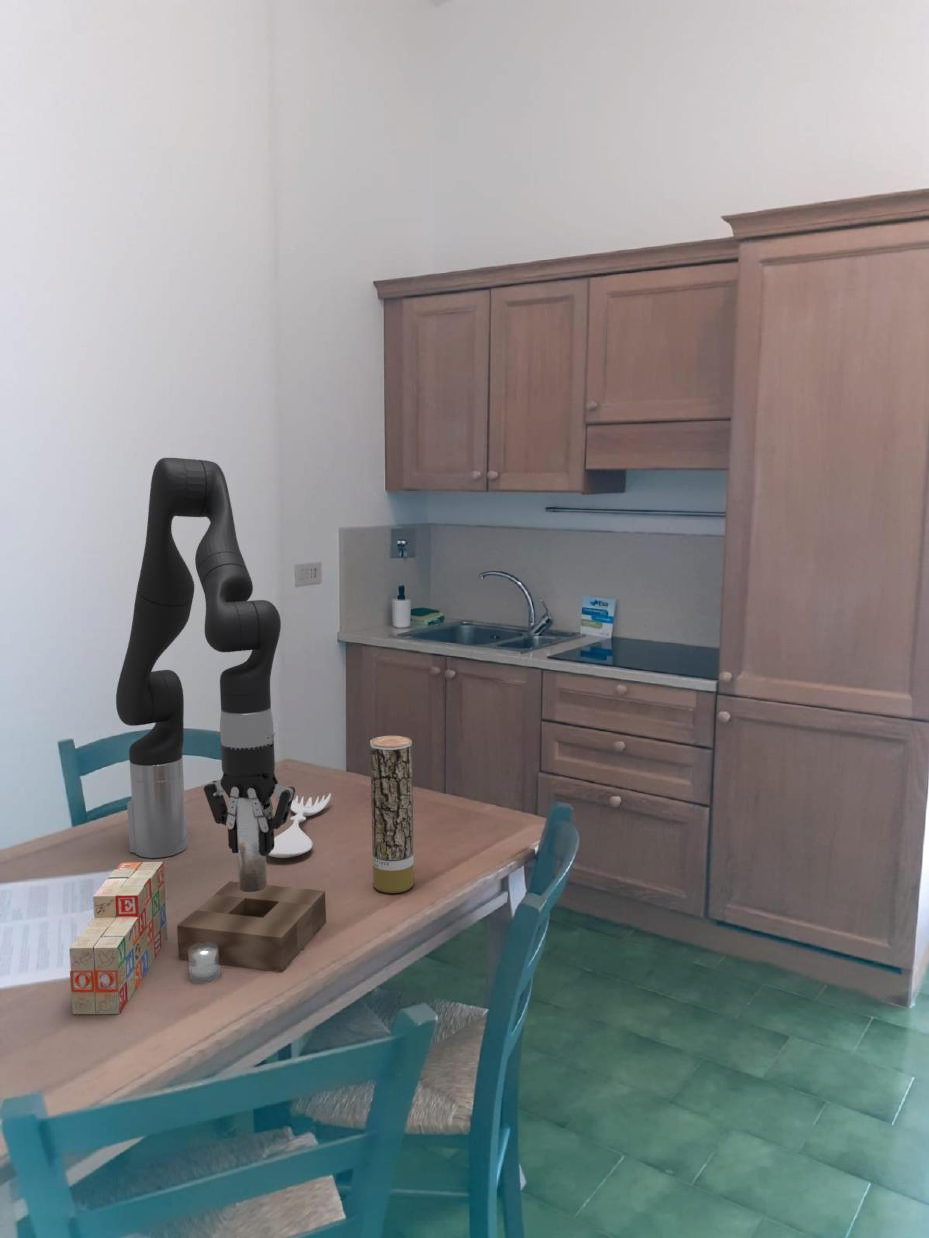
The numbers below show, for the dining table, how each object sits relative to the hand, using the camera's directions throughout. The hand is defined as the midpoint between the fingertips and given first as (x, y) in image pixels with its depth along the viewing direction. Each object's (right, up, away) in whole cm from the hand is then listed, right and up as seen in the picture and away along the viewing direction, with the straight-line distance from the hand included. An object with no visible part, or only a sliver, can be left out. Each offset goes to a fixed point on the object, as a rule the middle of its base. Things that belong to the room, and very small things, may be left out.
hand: (251, 852), depth 146 cm
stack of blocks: (-16, -15, -8) cm, 24 cm away
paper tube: (+19, -11, +21) cm, 30 cm away
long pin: (0, -5, +1) cm, 5 cm away
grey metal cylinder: (-5, -15, -9) cm, 18 cm away
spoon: (-1, -7, +46) cm, 46 cm away
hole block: (0, -13, +2) cm, 14 cm away
